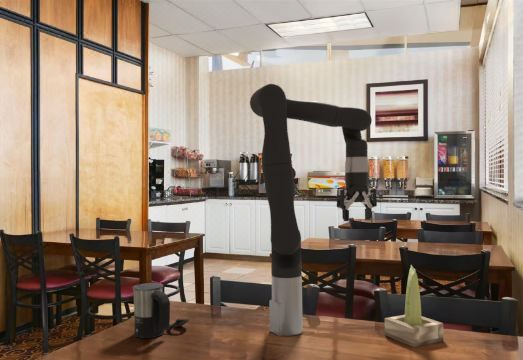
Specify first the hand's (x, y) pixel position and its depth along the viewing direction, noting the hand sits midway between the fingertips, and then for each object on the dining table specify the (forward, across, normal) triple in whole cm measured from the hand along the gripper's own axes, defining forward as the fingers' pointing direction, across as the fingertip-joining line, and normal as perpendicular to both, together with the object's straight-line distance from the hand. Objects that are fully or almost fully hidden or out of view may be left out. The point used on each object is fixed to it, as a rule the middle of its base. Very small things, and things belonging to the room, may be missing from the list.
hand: (357, 220), depth 163 cm
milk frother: (+33, +60, -18) cm, 71 cm away
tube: (+32, -3, +22) cm, 39 cm away
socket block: (+32, -3, +22) cm, 40 cm away
